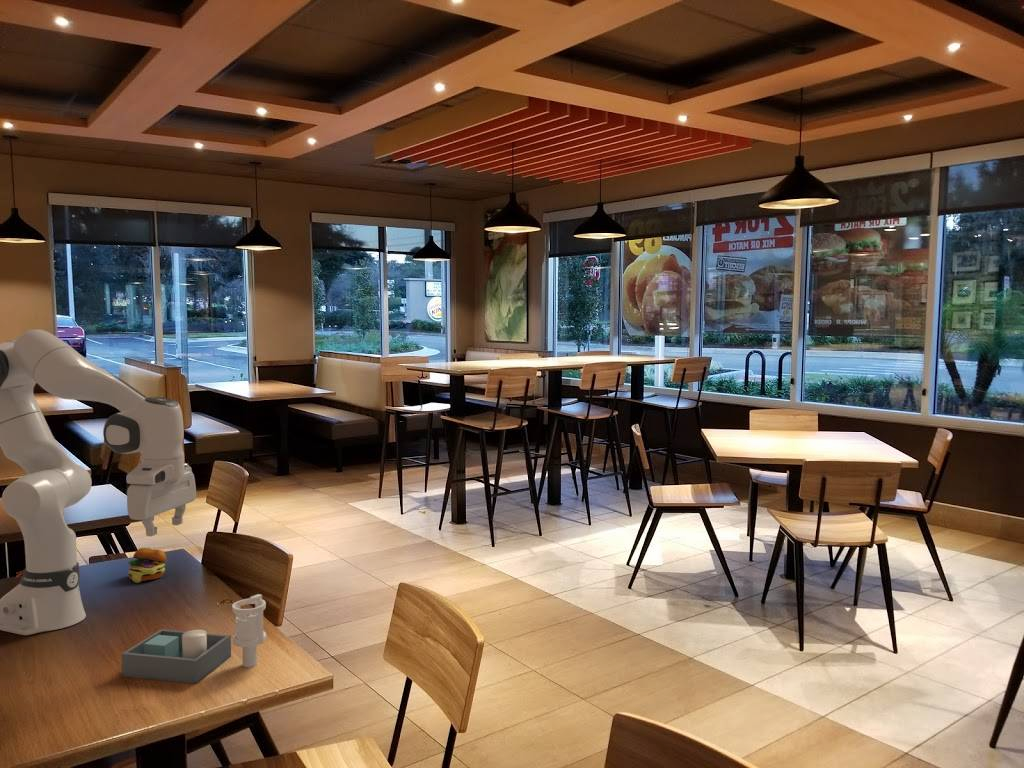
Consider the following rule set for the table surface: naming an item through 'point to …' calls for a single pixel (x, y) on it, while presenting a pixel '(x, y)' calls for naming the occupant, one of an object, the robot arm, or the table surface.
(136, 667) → the tote
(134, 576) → the cheeseburger
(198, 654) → the cream capsule
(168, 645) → the teal cube
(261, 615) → the grey slotted cylindrical housing
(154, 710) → the table surface
